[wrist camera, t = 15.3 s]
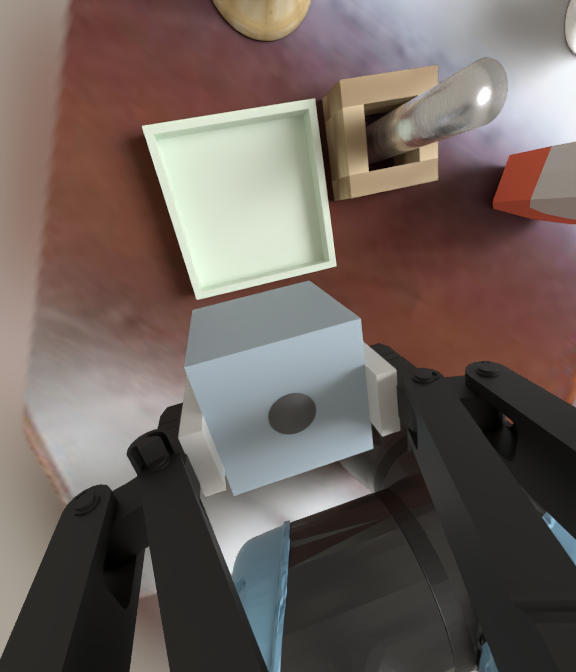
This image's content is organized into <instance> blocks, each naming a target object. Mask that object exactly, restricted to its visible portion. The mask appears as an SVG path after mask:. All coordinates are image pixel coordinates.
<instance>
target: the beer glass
mask: <svg viewBox="0 0 576 672" xmlns="http://www.w3.org/2000/svg"><path fill="white" fill-rule="evenodd" d="M565 36H566V40H567V43H568V46H569V47H570V49H571V50H572V51H573V52H574V53H575V54H576V0H571V1H570V3H569V6H568V9H567V13H566V19H565Z"/></svg>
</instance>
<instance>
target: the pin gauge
mask: <svg viewBox="0 0 576 672" xmlns="http://www.w3.org/2000/svg"><path fill="white" fill-rule="evenodd" d="M507 89H508V83H507V76H506V73H505V70H504V68H503V66H502V65H501V64H500V63H499V62H498V61H497V60H495V59H493V58H482V59H479V60H477V61H476V62H474V63H472V64H471V65H469V66H467V67H466V68H464V69H462V70H461V71H459V72H457V73H456V74H454V75H452V76H451V77H449V78H447V79H446V80H444V81H442V82H440V83H439V84H437V85H435V86H434V87H432V88H430V89H429V90H427V91H425V92H424V93H422V94H420V95H419V96H417V97H415V98H414V99H412V100H410V101H409V102H407V103H405V104H404V105H402V106H400V107H399V108H397V109H395V110H394V111H392V112H390V113H389V114H387V115H385V116H384V117H382V118H380V119H379V120H377V121H375V122H374V123H372V124H370V125H369V126H367V127H365V128H366V141H367V154H368V164H373V163H376V162H379V161H382V160H385V159H388V158H391V157H394V156H396V155H399V154H402V153H405V152H408V151H411V150H414V149H417V148H420V147H423V146H426V145H428V144H431V143H434V142H437V141H440V140H443V139H446V138H449V137H452V136H455V135H457V134H460V133H463V132H466V131H469V130H472V129H475V128H478V127H481V126H484V125H486V124H488V123H490V122H491V121H492V120H494V119H495V118H496V117H497V115H498V114H499V113H500V111H501V109H502V107H503V105H504V103H505V100H506V96H507Z"/></svg>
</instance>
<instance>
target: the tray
mask: <svg viewBox="0 0 576 672" xmlns="http://www.w3.org/2000/svg"><path fill="white" fill-rule="evenodd" d="M142 128H143V132H144V135H145V138H146V141H147V144H148V147H149V151H150V154H151V157H152V160H153V163H154V166H155V170H156V173H157V176H158V179H159V182H160V185H161V188H162V192H163V195H164V198H165V201H166V204H167V207H168V211H169V214H170V217H171V220H172V223H173V226H174V230H175V233H176V236H177V239H178V242H179V245H180V249H181V252H182V255H183V258H184V261H185V264H186V268H187V271H188V274H189V277H190V280H191V283H192V287H193V290H194V293H195V296H196V299H197V300H199V299H203V298H207V297H211V296H215V295H219V294H224V293H228V292H232V291H236V290H240V289H244V288H248V287H253V286H257V285H261V284H265V283H269V282H273V281H277V280H282V279H286V278H290V277H294V276H298V275H302V274H306V273H311V272H315V271H319V270H323V269H327V268H331V267H335V266H336V258H335V250H334V243H333V235H332V227H331V219H330V211H329V204H328V196H327V188H326V180H325V173H324V165H323V157H322V149H321V141H320V134H319V126H318V118H317V110H316V102H315V98H314V99H308V100H301V101H295V102H289V103H283V104H276V105H270V106H264V107H258V108H251V109H245V110H239V111H233V112H227V113H220V114H214V115H208V116H202V117H195V118H189V119H183V120H177V121H170V122H164V123H158V124H152V125H145V126H142Z"/></svg>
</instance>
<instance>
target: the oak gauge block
mask: <svg viewBox="0 0 576 672" xmlns="http://www.w3.org/2000/svg"><path fill="white" fill-rule="evenodd" d="M437 84H438V65H434V66H428V67H421V68H415V69H408V70H402V71H395V72H389V73H382V74H376V75H369V76H363V77H356V78H350V79H343V80H339V81H338V83H337V84H336V85H335V86H334V87H333V88H332V89H331V90H330V91H329V92H328V93H327V95H326V96H325V97H324V98H323V99H322V103H323V111H324V120H325V128H326V136H327V144H328V153H329V161H330V169H331V177H332V186H333V194H334V201H337V200H343V199H350V198H355V197H360V196H365V195H370V194H374V193H379V192H384V191H389V190H393V189H398V188H403V187H408V186H412V185H417V184H422V183H426V182H431V181H436V180H438V141H437V142H434V143H431V144H428V145H426V146H423V147H420V148H417V149H414V150H411V151H408V152H405V153H402V154H399V155H396V156H394V167H390V168H385V169H380V170H375V171H370V172H369V167H368V154H367V141H366V128H365V116H368V115H373V114H379V113H385V112H392V111H394V110H395V109H397V108H399V107H400V106H402V105H404V104H405V103H407V102H409V101H410V100H412V99H414V98H415V97H417V96H419V95H420V94H422V93H424V92H425V91H427V90H429V89H430V88H432V87H434V86H435V85H437Z"/></svg>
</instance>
